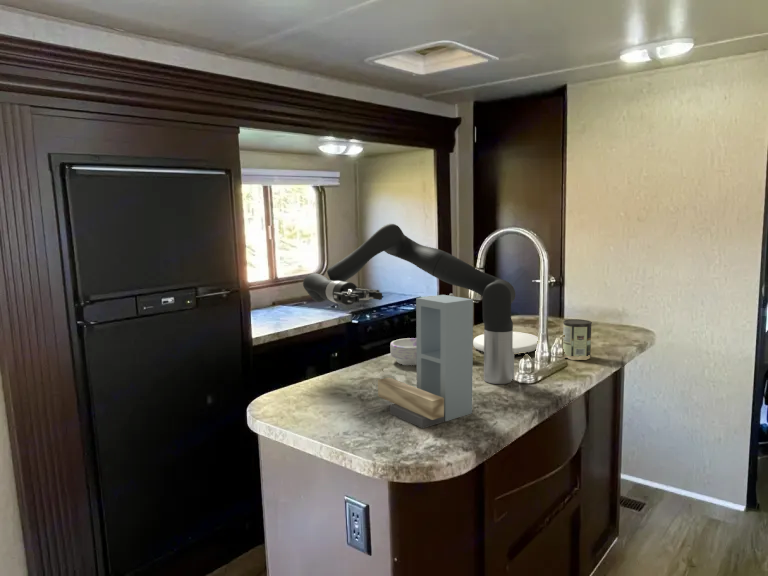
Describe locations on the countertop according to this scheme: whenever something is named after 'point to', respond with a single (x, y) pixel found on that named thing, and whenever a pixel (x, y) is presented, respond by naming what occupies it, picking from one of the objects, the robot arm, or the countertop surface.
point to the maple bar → (411, 398)
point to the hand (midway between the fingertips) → (370, 297)
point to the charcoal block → (413, 416)
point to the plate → (520, 342)
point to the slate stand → (446, 351)
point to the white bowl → (404, 351)
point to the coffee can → (577, 337)
